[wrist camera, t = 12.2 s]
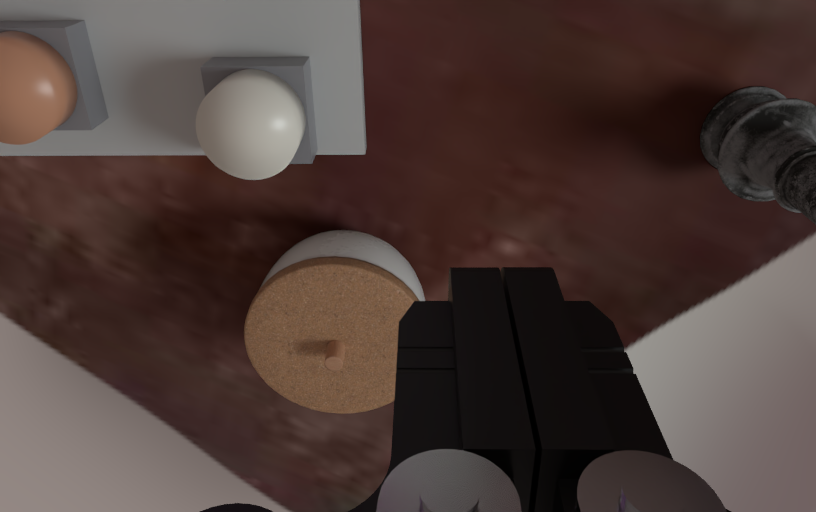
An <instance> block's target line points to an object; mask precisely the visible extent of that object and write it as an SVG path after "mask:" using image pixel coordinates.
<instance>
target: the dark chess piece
mask: <svg viewBox="0 0 816 512" xmlns="http://www.w3.org/2000/svg"><path fill="white" fill-rule="evenodd" d="M700 146H701V150H702V152H703V155H704V157H705V158H706V159H707V161H708V162H709V163H710V164H711V165H712V166H714V167H715V168H717V169H718V171H719V174H720V177H721V179H722V182H723V183H724V184H725V186H726V187H727V188H728V189H729V190H730V191H731V192H732V193H734V194H735V195H737V196H739V197H740V198H743V199H747V200H751V201H770V200H776V201H777V202H778V203H779V204H780V206H782V207H783V208H785V209H787V210H788V211H792V212H796V213H803V214H804V215H805V216H806V217H807V218H808V219H810V220H811V221H812V222H813V223H814V224H815V225H816V106H814V105H813V104H811V103H810V102H807V101H803V100H800V99H786V97H785V96H784V95H782V94H781V93H779V92H778V91H776V90H774V89H771V88H767V87H748V88H744V89H740V90H737V91H735V92H733V93H731V94H729V95H727V96H726V97H725V98H723V99H722V100H721V101H720V102H718V103H717V104H716V105H715V106H714V108H713V109H712V110H711V111H710V112H709V114H708V115H707V117H706V119H705V121H704V123H703V125H702V130H701V134H700Z"/></svg>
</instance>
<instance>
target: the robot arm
mask: <svg viewBox="0 0 816 512" xmlns="http://www.w3.org/2000/svg"><path fill="white" fill-rule="evenodd" d="M397 348H398V350H397V364H396V382H395V400H394V418H393V436H392V454H391V461H390V466H389V469H388V472H387V475H386V476H385V478H384V480H383V482H382V483H381V485H380V486H379V487H378V489H377V490H376V491H375V492H374V493H373V494H372V495H371V496H370V497H369V498H368V499H367V500H366V501H364V502H363V503H361V504H360V505H358V506H357V507H355V508H354V509H352V510H350V511H348V512H731V511H729V510H727V509H725V507H724V506H723V504H722V502H721V500H720V499H719V497H718V496H717V494H716V493H715V492H714V490H713V489H712V488H711V487H710V486H709V485H708V484H707V483H706V482H705V481H704V480H703V479H702V478H701V477H700V476H698V475H697V474H696V473H695V472H693V471H692V470H690V469H689V468H687V467H686V466H684V465H682V464H680V463H678V462H676V461H674V460H673V458H672V456H671V454H670V451H669V449H668V447H667V445H666V442H665V440H664V438H663V436H662V433H661V431H660V429H659V426H658V424H657V422H656V419H655V417H654V415H653V412H652V410H651V408H650V406H649V403H648V401H647V399H646V396H645V394H644V392H643V390H642V387H641V385H640V383H639V381H638V378H637V376H636V374H633V367H632V364H631V362H630V360H629V358H628V355H627V353H626V352H624V346H623V344H622V341H621V339H620V337H619V335H618V332H617V330H616V328H615V325H614V323H613V322H612V321H611V320H610V319H609V318H608V317H607V316H605V315H604V314H603V313H602V312H601V311H600V310H599V309H598V308H597V307H595V306H594V305H593V304H592V303H591V302H590V301H564V298H563V295H562V293H561V290H560V287H559V284H558V281H557V278H556V275H555V272H554V270H553V268H551V267H503V268H502V269H501V272H500V270H499V268H450V269H449V293H448V301H414V302H413V304H412V305H411V306H410V308H409V309H408V310H407V312H406V313H405V314H404V316H403V317H402V318H401V320H400V321H399V329H398V347H397ZM200 512H272V511H271V510H268V509H265V508H263V507H260V506H256V505H251V504H240V503H235V504H224V505H220V506H216V507H211V508H209V509H206V510H203V511H200Z"/></svg>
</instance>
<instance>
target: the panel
mask: <svg viewBox="0 0 816 512" xmlns="http://www.w3.org/2000/svg"><path fill="white" fill-rule="evenodd" d="M5 31H19V32H24V33H28V34H31V35H33V36H36V37H38V38H40V39H42V40H43V41H45V42H47V43H48V44H49V45H51V46H52V47H53V48H54V49H55V50H56V51H58V53H59V54H60V55H61V56H62V57H63V58H64V60H65V61H66V62H67V64H68V65H69V67H70V69H71V71H72V73H73V75H74V78H75V81H76V86H77V103H76V107H75V109H74V112H73V113H72V115H71V116H70V118H69V119H68V120H67V121H66V122H64V123H63V124H62V125H60V126H58V127H57V128H55V129H54V130H52V131H51V132H49V133H48V134H46V135H45V136H43V137H42V138H40V139H38V140H37V141H34V142H32V143H28V144H22V145H13V144H6V143H2V142H0V156H80V155H206V154H205V153H204V151H203V149H202V148H201V146H200V143H199V141H198V138H197V134H196V115H197V111H198V108H199V106H200V104H201V102H202V100H203V99H204V98H205V96H206V95H207V94H208V93H209V92H210V91H211V90H212V89H213V88H214V87H216V86H217V85H218V84H219V83H220V82H221V81H222V80H223V79H224V78H225V77H227V76H228V75H230V74H232V73H234V72H237V71H241V70H246V69H258V70H263V71H267V72H270V73H272V74H274V75H276V76H278V77H280V78H281V79H283V80H284V81H285V82H287V83H288V84H289V85H290V86H291V87H292V88H293V89H294V91H295V92H296V93H297V95H298V97H299V98H300V100H301V102H302V105H303V108H304V111H305V117H306V126H305V132H304V136H303V138H302V140H301V143H300V145H299V147H298V149H297V151H296V153H295V155H294V157H293V159H292V160H291V162H290V163H289V164H312V163H313V160H314V158H315V155H364V154H365V153H366V129H365V107H364V85H363V63H362V42H361V20H360V0H0V33H1V32H5Z"/></svg>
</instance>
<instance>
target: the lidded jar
mask: <svg viewBox="0 0 816 512" xmlns="http://www.w3.org/2000/svg"><path fill="white" fill-rule="evenodd" d="M414 301H425V298H424V294H423V290H422V287H421V284H420V282H419V280H418V278H417V276H416V273H415V271H414V270H413V268H412V267H411V265H410V264H409V262H408V261H407V260H406V259H405V258H404V257H403V256H402V255H401V254H400V253H399V252H398V251H397V250H396V249H395V248H394V247H392V246H391V245H390V244H388V243H387V242H385V241H383V240H381V239H379V238H377V237H375V236H372V235H370V234H367V233H362V232H358V231H351V230H333V231H327V232H322V233H319V234H316V235H313V236H311V237H308V238H306V239H304V240H302V241H301V242H299V243H297V244H295V245H294V246H293V247H292V248H290V249H289V250H288V251H287V252H286V253H285V254H283V255H282V256H281V258H280V259H279V260H278V261H277V262H276V263H275V264H274V266H273V267H272V268H271V270H270V271H269V273H268V274H267V276H266V278H265V279H264V281H263V283H262V285H261V287H260V289H259V291H258V292H257V294H256V296H255V297H254V299H253V301H252V303H251V305H250V308H249V310H248V313H247V316H246V319H245V326H244V342H245V346H246V350H247V354H248V356H249V358H250V361H251V363H252V365H253V366H254V368H255V369H256V371H257V372H258V374H259V375H260V376H261V377H262V379H263V380H264V381H265V382H266V383H267V384H268V385H269V386H270V387H271V388H273V389H274V390H275V391H276V392H277V393H279V394H280V395H282V396H284V397H285V398H287V399H288V400H290V401H292V402H294V403H297V404H299V405H301V406H304V407H307V408H310V409H313V410H317V411H323V412H329V413H340V414H343V413H357V412H364V411H369V410H372V409H375V408H379V407H381V406H384V405H386V404H388V403H391V402H392V401H394V400H395V382H396V364H397V350H398V348H397V347H398V329H399V321H400V320H401V318H402V317H403V316H404V314H405V313H406V312H407V310H408V309H409V308H410V306H411V305H412V304H413V302H414Z"/></svg>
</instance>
